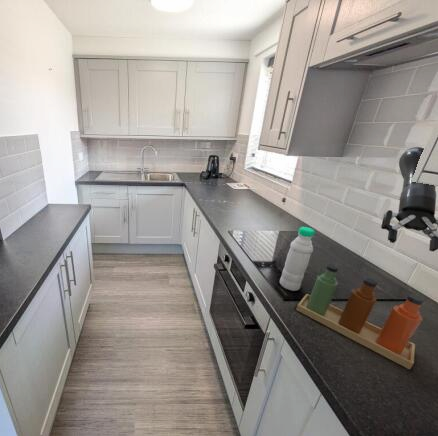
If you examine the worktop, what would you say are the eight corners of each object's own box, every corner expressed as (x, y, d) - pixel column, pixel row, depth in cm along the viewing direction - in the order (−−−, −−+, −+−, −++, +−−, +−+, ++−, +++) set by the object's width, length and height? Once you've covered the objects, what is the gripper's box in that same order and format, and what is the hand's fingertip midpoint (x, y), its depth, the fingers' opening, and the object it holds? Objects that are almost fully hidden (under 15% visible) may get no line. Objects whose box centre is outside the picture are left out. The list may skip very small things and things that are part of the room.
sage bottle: (321, 306, 81) (338, 263, 74) (328, 317, 76) (347, 273, 69) (304, 303, 82) (319, 260, 75) (309, 314, 77) (327, 269, 70)
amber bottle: (354, 322, 74) (376, 277, 68) (364, 335, 69) (388, 288, 63) (335, 318, 75) (354, 273, 69) (343, 331, 71) (365, 284, 64)
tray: (411, 349, 66) (415, 344, 65) (409, 369, 60) (413, 363, 59) (304, 298, 85) (306, 293, 84) (295, 309, 79) (297, 304, 78)
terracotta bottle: (392, 340, 68) (420, 292, 62) (406, 357, 63) (438, 307, 57) (371, 336, 69) (396, 289, 63) (383, 352, 64) (412, 302, 58)
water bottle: (280, 278, 96) (296, 223, 87) (300, 284, 92) (319, 228, 83) (277, 286, 91) (295, 229, 81) (298, 294, 87) (319, 234, 78)
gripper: (392, 190, 74) (386, 234, 70) (459, 198, 67) (457, 248, 62) (381, 202, 80) (375, 243, 76) (442, 211, 73) (439, 257, 68)
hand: (412, 245), depth 69 cm, fingers open, 8 cm apart
